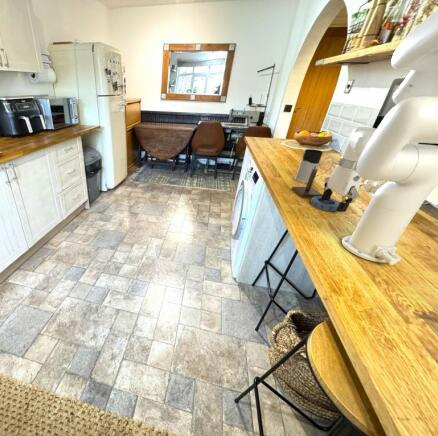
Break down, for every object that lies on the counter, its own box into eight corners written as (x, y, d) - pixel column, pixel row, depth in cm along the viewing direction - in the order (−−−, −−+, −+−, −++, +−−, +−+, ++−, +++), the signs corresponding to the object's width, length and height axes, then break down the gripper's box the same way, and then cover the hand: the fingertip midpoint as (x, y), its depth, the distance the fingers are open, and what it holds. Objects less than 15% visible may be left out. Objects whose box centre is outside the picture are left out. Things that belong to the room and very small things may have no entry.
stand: (321, 197, 106) (332, 173, 100) (301, 197, 106) (310, 172, 100) (310, 189, 113) (319, 166, 108) (291, 189, 114) (299, 166, 108)
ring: (345, 211, 95) (347, 206, 94) (319, 211, 95) (321, 206, 94) (328, 200, 104) (330, 196, 103) (305, 200, 104) (307, 195, 103)
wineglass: (349, 174, 112) (383, 176, 106) (345, 176, 118) (377, 179, 112) (346, 188, 112) (379, 191, 107) (342, 190, 118) (374, 193, 113)
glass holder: (298, 175, 130) (308, 147, 122) (327, 183, 120) (340, 154, 113) (291, 179, 125) (300, 150, 118) (320, 187, 116) (333, 157, 108)
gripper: (381, 172, 79) (357, 216, 88) (345, 156, 94) (328, 196, 103) (359, 172, 79) (337, 216, 88) (326, 156, 94) (310, 195, 103)
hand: (332, 205), depth 95 cm, fingers open, 9 cm apart
